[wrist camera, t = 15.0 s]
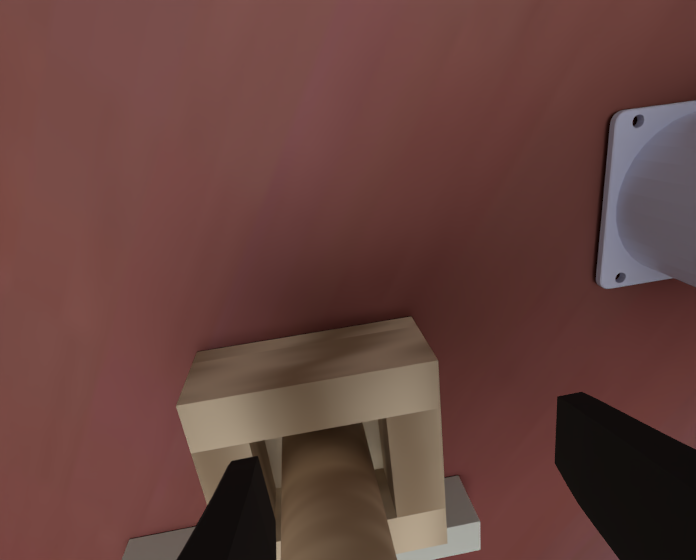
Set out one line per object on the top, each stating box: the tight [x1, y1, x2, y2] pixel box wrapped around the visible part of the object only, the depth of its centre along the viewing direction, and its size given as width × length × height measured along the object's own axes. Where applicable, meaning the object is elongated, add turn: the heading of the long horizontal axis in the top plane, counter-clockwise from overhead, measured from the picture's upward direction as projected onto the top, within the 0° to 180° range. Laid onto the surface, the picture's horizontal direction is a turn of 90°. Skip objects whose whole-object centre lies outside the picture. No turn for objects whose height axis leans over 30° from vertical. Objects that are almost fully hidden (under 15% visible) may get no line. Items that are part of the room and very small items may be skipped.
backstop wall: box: [122, 476, 480, 560], centre depth 23 cm, size 18×2×3 cm, turn 97°
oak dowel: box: [281, 422, 397, 560], centre depth 18 cm, size 4×4×8 cm
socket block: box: [176, 317, 448, 560], centre depth 20 cm, size 10×10×4 cm
